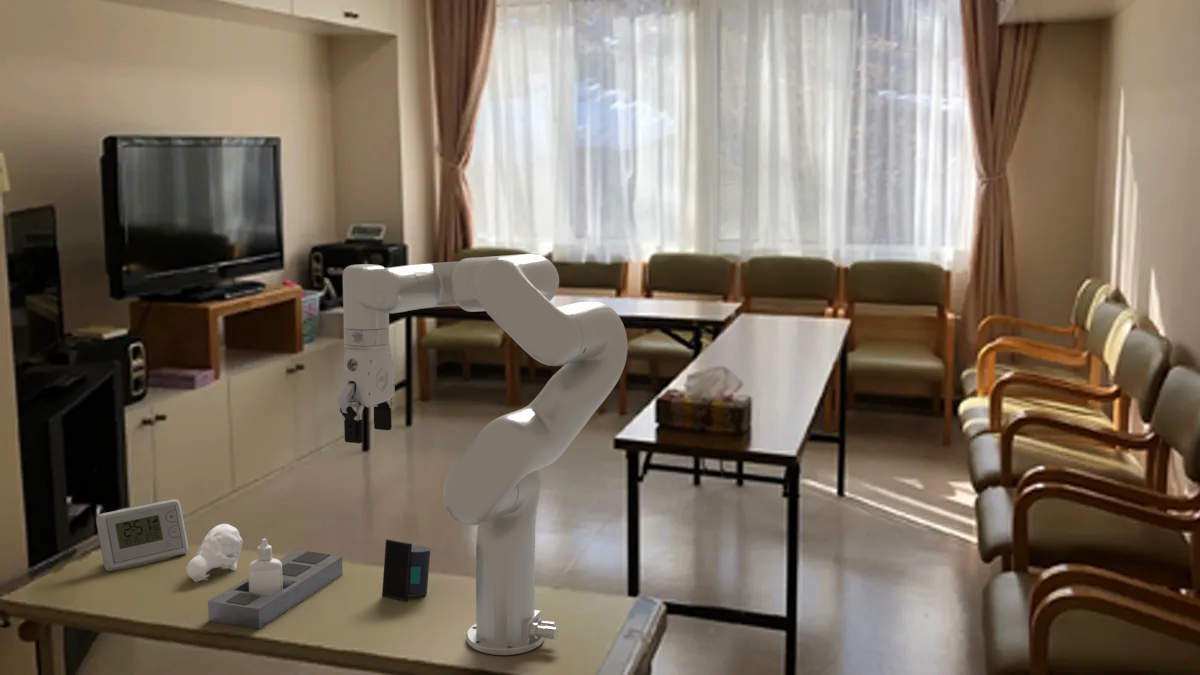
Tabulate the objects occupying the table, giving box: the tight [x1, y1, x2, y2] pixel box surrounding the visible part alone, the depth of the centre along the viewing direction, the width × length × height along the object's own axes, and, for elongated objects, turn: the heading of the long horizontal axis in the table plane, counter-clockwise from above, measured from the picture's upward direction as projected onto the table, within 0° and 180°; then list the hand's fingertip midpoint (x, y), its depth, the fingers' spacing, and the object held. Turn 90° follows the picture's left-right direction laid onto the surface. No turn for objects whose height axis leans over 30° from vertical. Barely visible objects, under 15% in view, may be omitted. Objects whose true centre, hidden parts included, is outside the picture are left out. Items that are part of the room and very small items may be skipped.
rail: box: [207, 549, 343, 630], centre depth 193 cm, size 10×26×4 cm, turn 162°
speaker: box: [381, 539, 431, 602], centre depth 194 cm, size 8×6×10 cm
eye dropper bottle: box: [247, 538, 283, 596], centre depth 189 cm, size 4×6×12 cm
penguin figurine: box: [185, 523, 244, 583], centre depth 203 cm, size 6×8×12 cm
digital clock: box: [95, 498, 189, 572], centre depth 210 cm, size 16×9×11 cm, turn 122°
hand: (368, 435), depth 186 cm, fingers open, 9 cm apart
